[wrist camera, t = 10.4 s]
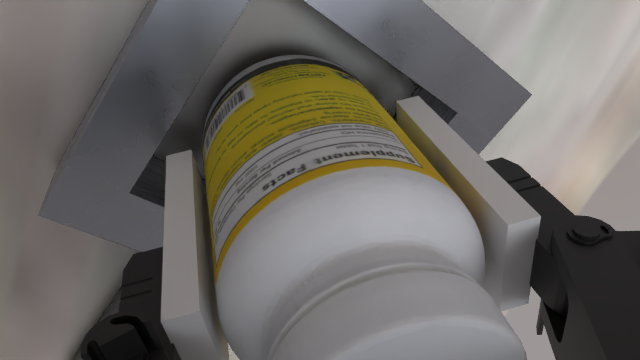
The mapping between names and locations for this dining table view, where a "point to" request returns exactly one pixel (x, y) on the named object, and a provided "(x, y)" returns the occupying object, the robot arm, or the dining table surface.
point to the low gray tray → (189, 66)
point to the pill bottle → (338, 228)
